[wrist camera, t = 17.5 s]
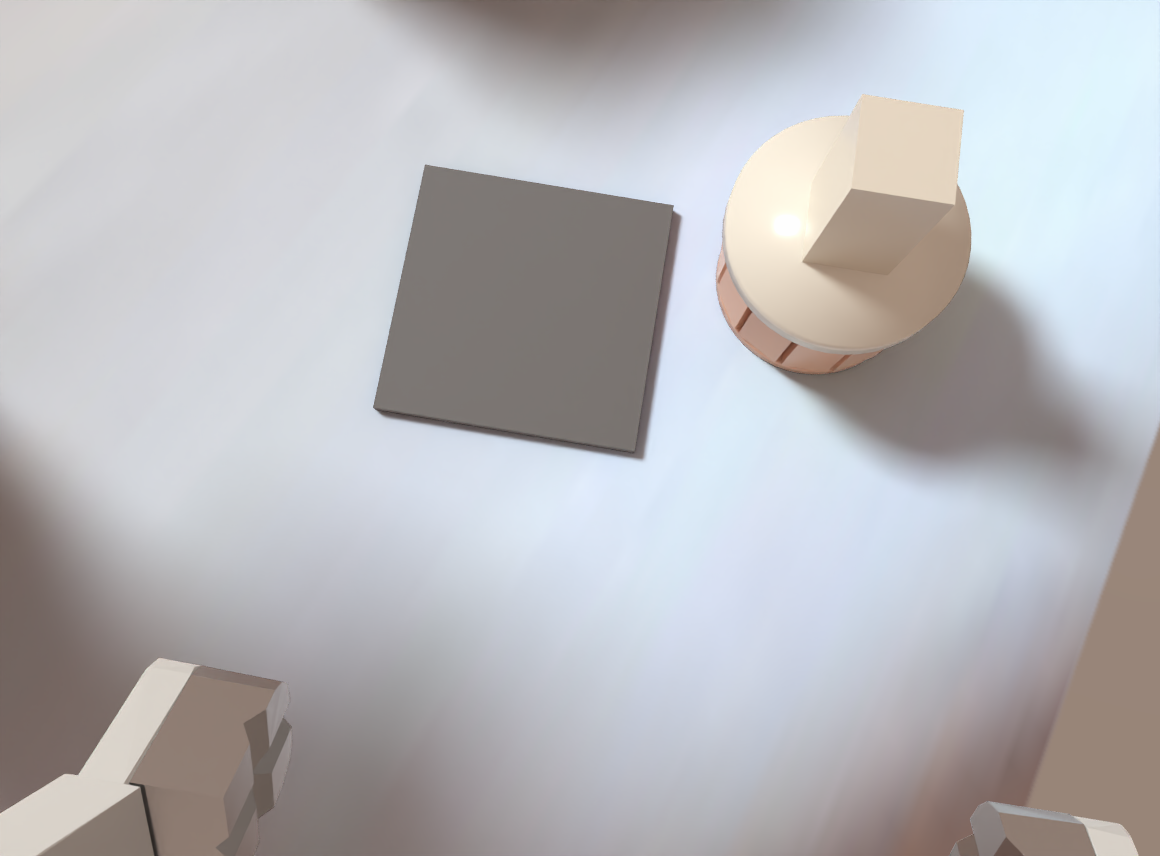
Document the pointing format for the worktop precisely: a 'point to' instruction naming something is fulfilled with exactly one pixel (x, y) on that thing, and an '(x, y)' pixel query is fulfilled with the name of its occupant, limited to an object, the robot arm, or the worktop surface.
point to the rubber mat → (526, 309)
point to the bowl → (774, 335)
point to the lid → (852, 226)
